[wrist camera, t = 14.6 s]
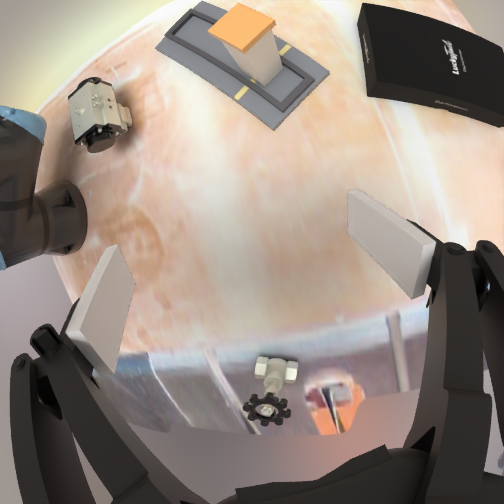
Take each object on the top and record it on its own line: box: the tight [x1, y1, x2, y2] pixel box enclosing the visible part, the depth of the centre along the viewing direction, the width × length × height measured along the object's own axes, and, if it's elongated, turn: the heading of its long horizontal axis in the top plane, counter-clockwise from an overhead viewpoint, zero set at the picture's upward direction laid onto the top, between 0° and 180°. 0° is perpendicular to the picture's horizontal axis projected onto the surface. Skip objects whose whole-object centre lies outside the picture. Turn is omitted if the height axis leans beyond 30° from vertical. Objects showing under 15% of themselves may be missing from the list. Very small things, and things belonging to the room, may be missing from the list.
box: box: [357, 3, 504, 127], centre depth 23 cm, size 25×14×7 cm, turn 90°
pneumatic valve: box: [68, 77, 133, 153], centre depth 33 cm, size 6×12×12 cm, turn 20°
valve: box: [243, 356, 298, 426], centre depth 38 cm, size 7×7×12 cm
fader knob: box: [208, 3, 283, 87], centre depth 25 cm, size 5×5×13 cm
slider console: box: [155, 1, 329, 130], centre depth 31 cm, size 26×12×2 cm, turn 49°
